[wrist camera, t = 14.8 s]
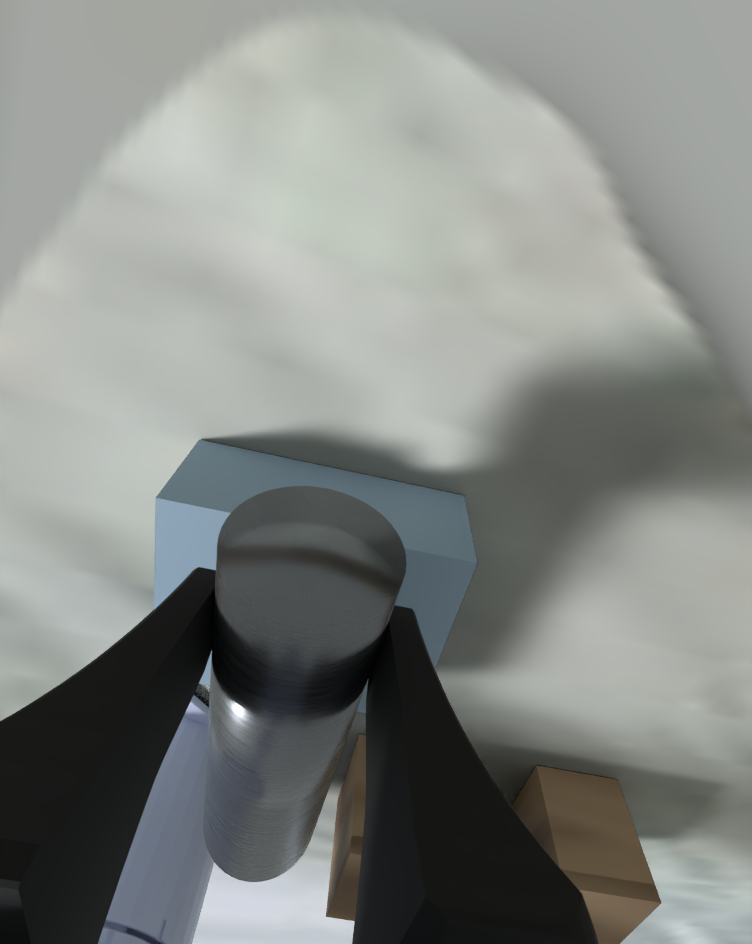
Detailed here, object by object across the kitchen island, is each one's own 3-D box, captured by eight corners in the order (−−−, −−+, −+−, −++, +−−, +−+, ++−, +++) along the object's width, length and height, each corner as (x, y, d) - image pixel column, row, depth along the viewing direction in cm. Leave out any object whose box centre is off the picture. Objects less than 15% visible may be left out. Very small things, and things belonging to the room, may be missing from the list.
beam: (573, 838, 31) (604, 958, 27) (337, 798, 30) (326, 916, 26) (617, 779, 28) (661, 903, 24) (359, 734, 27) (350, 853, 23)
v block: (411, 642, 24) (413, 722, 21) (189, 600, 23) (152, 675, 20) (464, 495, 20) (477, 562, 17) (199, 439, 20) (155, 497, 16)
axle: (322, 768, 21) (305, 890, 18) (222, 751, 21) (186, 872, 18) (408, 505, 13) (404, 642, 10) (246, 471, 13) (188, 601, 10)
